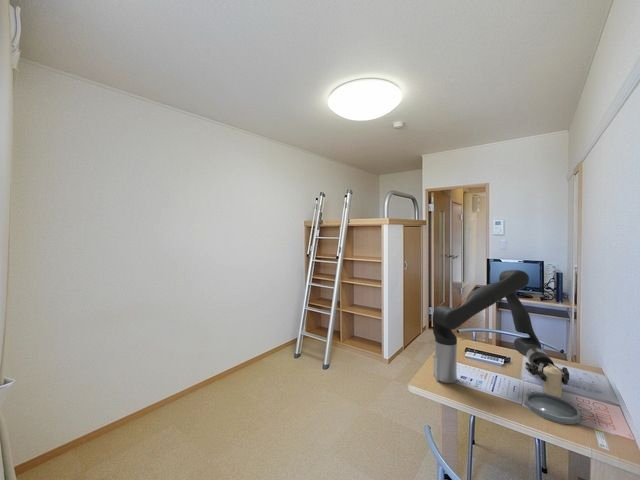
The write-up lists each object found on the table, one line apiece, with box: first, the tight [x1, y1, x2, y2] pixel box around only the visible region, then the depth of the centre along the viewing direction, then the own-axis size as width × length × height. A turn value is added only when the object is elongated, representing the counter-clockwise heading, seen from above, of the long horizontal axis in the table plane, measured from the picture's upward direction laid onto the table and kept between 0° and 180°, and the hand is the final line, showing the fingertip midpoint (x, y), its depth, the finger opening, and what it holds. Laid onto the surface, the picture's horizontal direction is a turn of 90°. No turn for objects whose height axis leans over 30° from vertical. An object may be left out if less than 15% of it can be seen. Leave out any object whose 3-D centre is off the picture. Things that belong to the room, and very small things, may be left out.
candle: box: [542, 365, 563, 398], centre depth 108 cm, size 6×6×10 cm
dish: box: [524, 391, 582, 425], centre depth 108 cm, size 16×16×2 cm
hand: (555, 380), depth 105 cm, fingers closed on candle, 5 cm apart
